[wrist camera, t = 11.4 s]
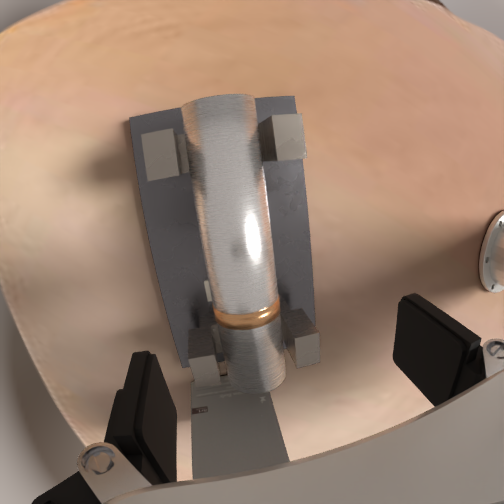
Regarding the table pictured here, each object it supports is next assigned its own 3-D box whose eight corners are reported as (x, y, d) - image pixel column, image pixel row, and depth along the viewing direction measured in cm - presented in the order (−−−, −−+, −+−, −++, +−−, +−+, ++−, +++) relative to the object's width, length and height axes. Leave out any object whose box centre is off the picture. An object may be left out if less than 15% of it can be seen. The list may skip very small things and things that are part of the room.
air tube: (182, 114, 21) (177, 101, 17) (249, 105, 22) (261, 90, 17) (226, 363, 28) (231, 399, 23) (278, 353, 29) (293, 386, 24)
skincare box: (262, 365, 32) (305, 484, 17) (269, 409, 34) (306, 516, 19) (185, 380, 31) (189, 505, 16) (201, 422, 33) (213, 534, 18)
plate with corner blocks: (291, 97, 25) (322, 77, 18) (312, 336, 32) (340, 378, 25) (131, 119, 23) (108, 103, 16) (182, 362, 30) (182, 411, 23)
